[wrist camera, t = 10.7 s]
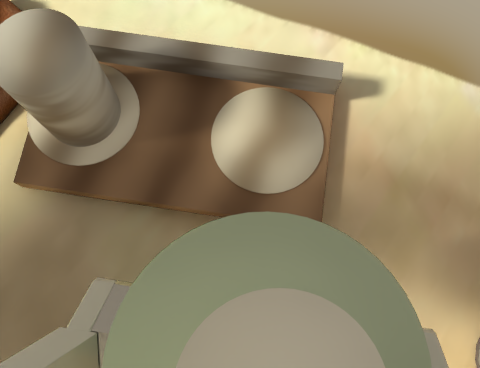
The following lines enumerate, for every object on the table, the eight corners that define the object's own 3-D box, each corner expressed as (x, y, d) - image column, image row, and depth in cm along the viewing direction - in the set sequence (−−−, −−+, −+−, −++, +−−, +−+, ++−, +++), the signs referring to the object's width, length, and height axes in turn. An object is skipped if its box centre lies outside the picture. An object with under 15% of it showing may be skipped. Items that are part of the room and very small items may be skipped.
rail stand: (16, 186, 36) (-71, 138, 26) (57, 45, 40) (-6, -47, 29) (317, 231, 35) (351, 201, 25) (332, 84, 39) (368, 4, 29)
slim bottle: (174, 386, 18) (-15, 646, 4) (196, 260, 19) (106, 150, 6) (299, 406, 18) (518, 741, 4) (313, 278, 19) (513, 211, 5)
